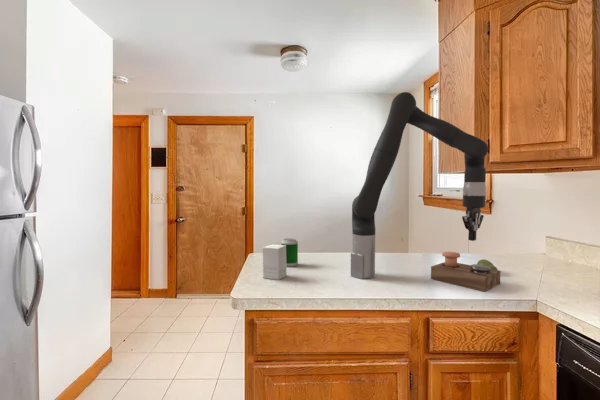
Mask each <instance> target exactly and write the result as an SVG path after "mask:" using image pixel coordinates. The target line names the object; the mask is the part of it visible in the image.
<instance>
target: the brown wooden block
mask: <svg viewBox="0 0 600 400" xmlns="http://www.w3.org/2000/svg"><path fill="white" fill-rule="evenodd" d="M470 265H471V264H468V263H467V264H466V263H462V262H457V268H450V267H445V261H444V262H441V263H438V264H434V265H432V266H431V267H430V279H431V280H433V281H439V282H442V283H447V284H450V285H456V286H458V287H463V288H467V289H472V290H475V291H480V292H485V293H486V292H487V291H490V290H492V289H493V288H495V287H496V286H499V285H501V274H502V273H501V270H498V269H497V270H493V269H490V271H487V274H480V273H475V272H473V270H472V269H471V268H470Z"/></svg>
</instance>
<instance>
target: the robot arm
mask: <svg viewBox="0 0 600 400" xmlns="http://www.w3.org/2000/svg"><path fill="white" fill-rule="evenodd" d="M407 124H408V125H411V126H414V127H415V128H418V129H420V130H422V131H424V132H426V133H427V134H429V135H430V136H432V137H433V138H436V139H437V140H438V141H440V142H442V143H443V144H445V145H447V146H448V147H451V148H454V149H457V150H459V151H460V152H461V153H464V159H463V160H464V180H463V181H464V182H463V187H462V207H465V208H466V209H465V215H464V216H463V215H462V217H461V219H462V222H463V225H464V227H465V229H466V230H467V231H468V241H471V242H474V241H476V240H477V231H478V230H479V229H480V228H481V225H482V222H483V220H484V216H485V215H484V214H482V210H481V209H482V208H483V209H484V208H486V196H487V192H486V191H487V186H486V178H487V176H486V175H487V172H486V168H485V157H486V156H487V154H488V151H489V146H488V143H486V141H484V140H482V139H481V138H479V137H477V136H474V135H473V134H470V133H468V132H465V131H464V130H463V129H460V128H459V127H457V126H455V125H454V124H452V123H450V122H448V121H446V120H444V119H440V118H437V117H435V116H432V115H430V114H428V113H426V112H424V111H423V110H421V109H420V108H419V107H418V106H417V102H416V99H415V97H414V95H413V94H412V93H410V92H408V91H404V92H403V91H402V92H400V93H399V94H397V95H395V96H394V97H393V99H392V101H391V105H390V109H389V112H388V116H387V118H386V122H385V125H384V127H383V129H382V131H381V133H380V136H379V138H378V140H377V143H376V144H375V147H374V148H373V151H372V154H371V157H370V158H369V162H368V167H367V172H366V177H365V181H364V183H363V186H362V188H361V189H360V191H359V194H358V195H357V196H356V197H355V198H354V199H353V201H352V204H351V206H352V207H351V227H352V228H351V229H352V233H351V234H352V240H351V241H352V242H351V243H352V245H351V247H352V249H351V251H352V252H350V276H351V277H353V278H354V277H355V278H357V279H361V280H363V279H372V278H375V276H376V223H375V220H376V219H375V217H376V215H375V213H376V212H377V208H378V204H379V200H380V197H381V194H382V191H383V188H384V185H385V184H386V181H387V179H388V177H390V173H391V171H392V169H393V167H394V164H395V161H396V159H397V156H398V154H399V151H400V146H401V142H402V138H403V134H404V131H405V128H406V126H407Z"/></svg>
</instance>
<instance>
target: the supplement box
mask: <svg viewBox="0 0 600 400" xmlns="http://www.w3.org/2000/svg"><path fill="white" fill-rule="evenodd" d="M287 271H288V270H287V267H286V245H281V244H272V243H271V244H269V245H266V246H263V247H262V275H263V277H262V278H263V279H267V280H269V279H270V280H275V281H277V280H278V281H279V280H280V279H283V278H285V277H287V275H288V274H287V273H288V272H287Z"/></svg>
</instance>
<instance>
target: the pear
mask: <svg viewBox="0 0 600 400" xmlns="http://www.w3.org/2000/svg"><path fill="white" fill-rule="evenodd" d="M476 264H479V265H486V266H489V267H490V269H493V270H498V268H497V266H495V265H494V263H492V262H491V261H490V260H488V259H483V258H482V259H480V260H478V261H477V262H476Z"/></svg>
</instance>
